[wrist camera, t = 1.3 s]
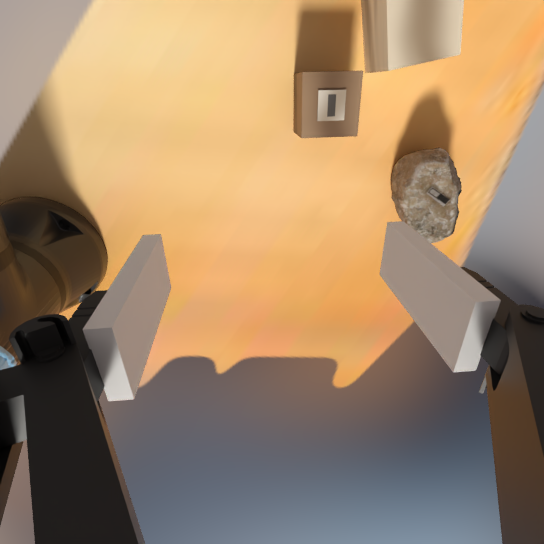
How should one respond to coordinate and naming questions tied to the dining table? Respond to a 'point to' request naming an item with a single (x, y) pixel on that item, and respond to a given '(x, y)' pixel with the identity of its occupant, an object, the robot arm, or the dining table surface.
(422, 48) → the plain block
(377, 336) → the dining table surface
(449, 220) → the stone
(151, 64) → the dining table surface
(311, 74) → the marked block
